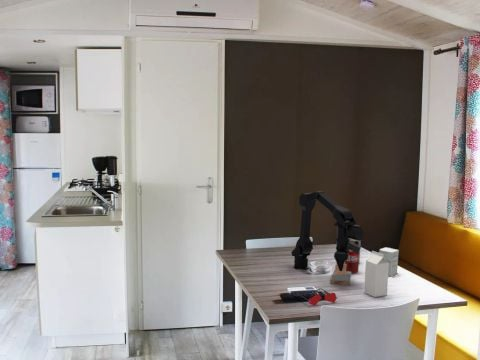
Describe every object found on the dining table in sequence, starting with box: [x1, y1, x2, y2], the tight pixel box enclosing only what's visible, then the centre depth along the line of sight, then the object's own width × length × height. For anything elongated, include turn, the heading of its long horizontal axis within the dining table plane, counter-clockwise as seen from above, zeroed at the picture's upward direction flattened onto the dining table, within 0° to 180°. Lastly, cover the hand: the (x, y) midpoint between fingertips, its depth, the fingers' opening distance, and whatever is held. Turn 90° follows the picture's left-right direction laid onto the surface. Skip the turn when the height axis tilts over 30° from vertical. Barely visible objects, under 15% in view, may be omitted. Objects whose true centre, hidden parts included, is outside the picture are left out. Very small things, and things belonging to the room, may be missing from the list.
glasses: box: [296, 288, 338, 307], centre depth 216 cm, size 14×16×5 cm
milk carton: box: [363, 250, 389, 298], centre depth 223 cm, size 7×7×19 cm
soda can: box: [344, 250, 360, 275], centre depth 255 cm, size 7×7×12 cm
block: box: [334, 262, 346, 275], centre depth 238 cm, size 5×5×4 cm
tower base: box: [330, 275, 352, 287], centre depth 239 cm, size 9×9×2 cm
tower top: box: [331, 269, 352, 282], centre depth 239 cm, size 8×8×2 cm
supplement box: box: [378, 246, 400, 277], centre depth 253 cm, size 7×7×13 cm
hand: (341, 268), depth 238 cm, fingers open, 9 cm apart
